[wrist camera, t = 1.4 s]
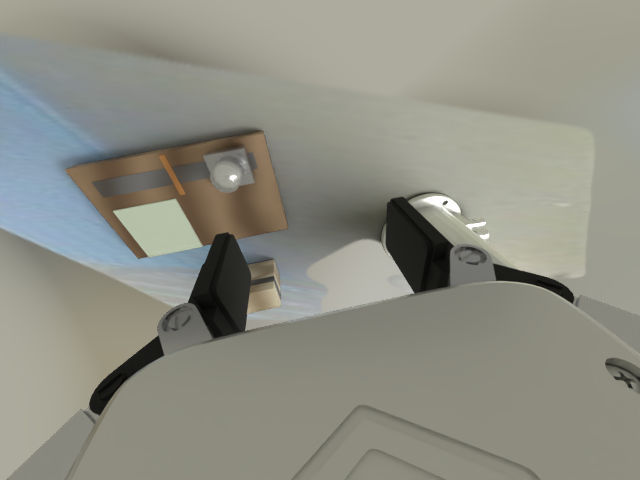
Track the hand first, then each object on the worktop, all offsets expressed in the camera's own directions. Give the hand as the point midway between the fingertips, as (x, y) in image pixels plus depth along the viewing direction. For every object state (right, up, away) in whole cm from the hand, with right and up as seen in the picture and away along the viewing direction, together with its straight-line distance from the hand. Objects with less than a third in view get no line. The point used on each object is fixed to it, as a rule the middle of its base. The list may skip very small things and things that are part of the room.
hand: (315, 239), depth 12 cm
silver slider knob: (-9, +8, +13) cm, 18 cm away
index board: (-15, +5, +16) cm, 22 cm away
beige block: (-9, -5, +25) cm, 27 cm away
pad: (-19, +1, +16) cm, 25 cm away
